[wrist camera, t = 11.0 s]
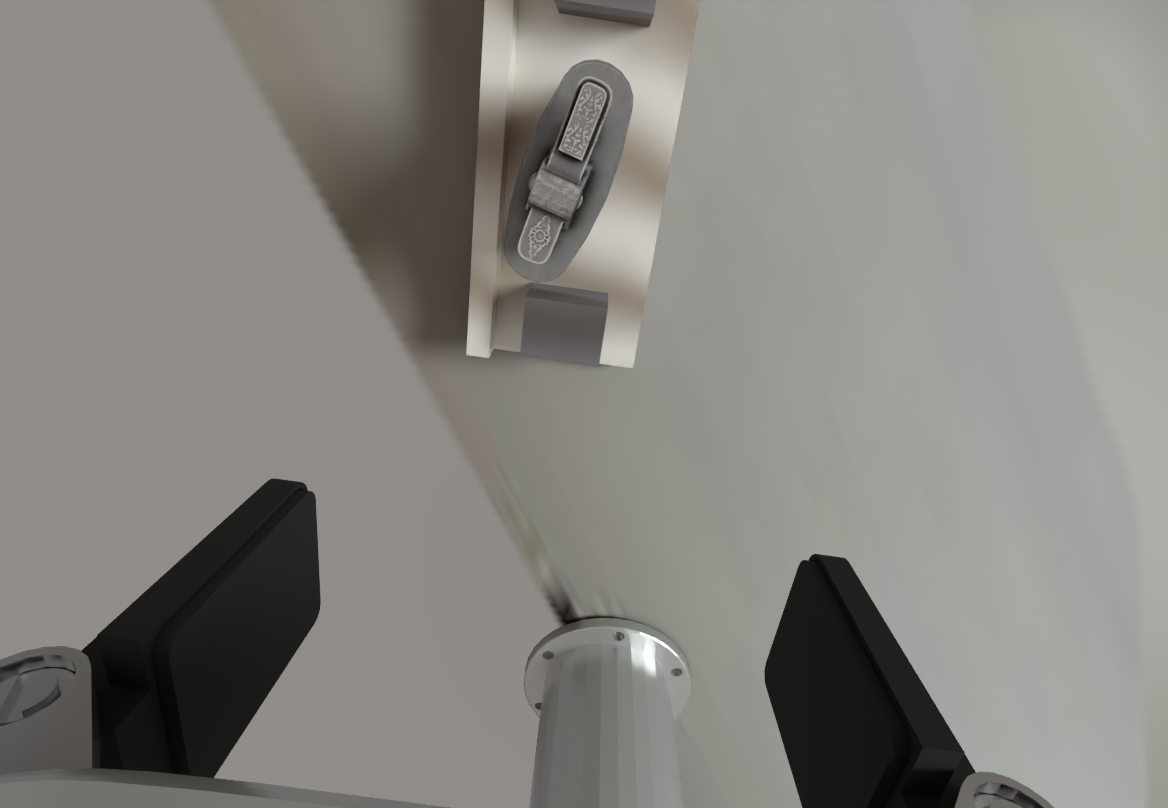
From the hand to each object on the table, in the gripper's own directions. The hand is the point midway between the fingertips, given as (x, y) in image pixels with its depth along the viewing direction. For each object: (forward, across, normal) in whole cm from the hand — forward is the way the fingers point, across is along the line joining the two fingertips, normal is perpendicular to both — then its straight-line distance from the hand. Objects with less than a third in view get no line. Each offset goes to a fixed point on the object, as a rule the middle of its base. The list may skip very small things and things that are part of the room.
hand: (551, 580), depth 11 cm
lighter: (+22, +2, -7) cm, 23 cm away
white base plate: (+23, +2, -8) cm, 24 cm away
